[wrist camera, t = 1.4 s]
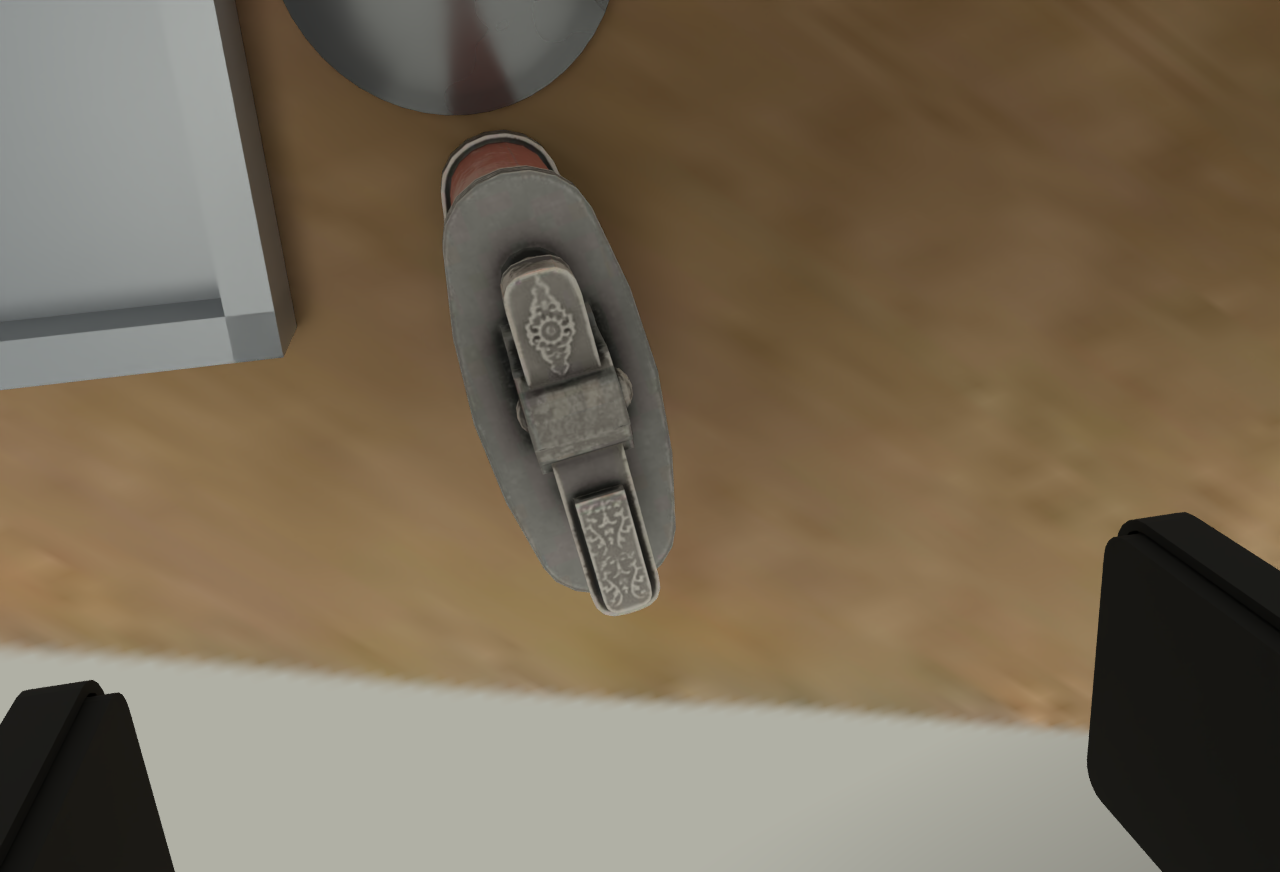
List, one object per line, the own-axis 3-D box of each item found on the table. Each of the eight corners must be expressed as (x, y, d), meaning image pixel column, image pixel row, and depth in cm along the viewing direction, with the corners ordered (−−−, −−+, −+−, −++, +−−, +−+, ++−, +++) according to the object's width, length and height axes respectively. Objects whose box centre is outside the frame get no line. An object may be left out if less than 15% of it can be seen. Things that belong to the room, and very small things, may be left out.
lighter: (410, 151, 25) (395, 228, 16) (556, 112, 25) (625, 164, 16) (511, 470, 28) (548, 689, 19) (640, 431, 28) (739, 630, 19)
